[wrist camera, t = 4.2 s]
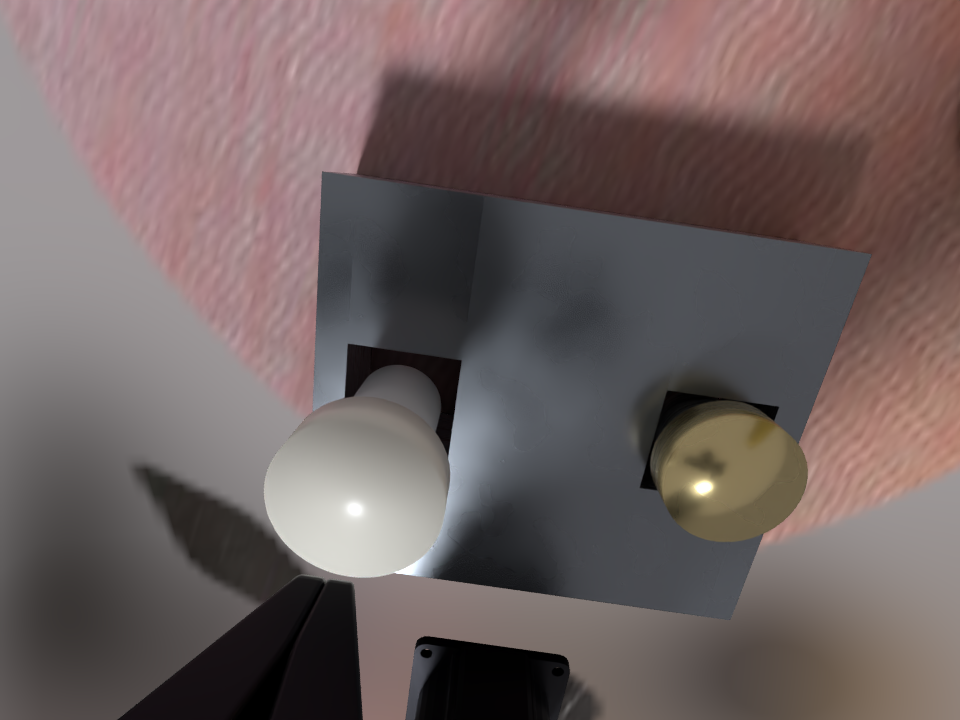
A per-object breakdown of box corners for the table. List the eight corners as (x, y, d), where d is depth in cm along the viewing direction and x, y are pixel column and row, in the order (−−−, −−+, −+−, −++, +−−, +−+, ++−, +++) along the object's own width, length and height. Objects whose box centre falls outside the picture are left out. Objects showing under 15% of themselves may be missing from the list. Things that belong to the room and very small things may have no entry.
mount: (695, 553, 20) (730, 620, 17) (336, 502, 20) (306, 560, 17) (801, 241, 16) (871, 254, 13) (355, 173, 16) (321, 171, 13)
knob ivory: (453, 467, 15) (433, 588, 11) (334, 449, 15) (263, 565, 11) (469, 354, 14) (455, 435, 10) (340, 335, 14) (264, 408, 10)
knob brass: (709, 458, 18) (780, 550, 14) (610, 444, 18) (648, 531, 14) (740, 364, 17) (828, 430, 13) (634, 349, 17) (684, 409, 13)
